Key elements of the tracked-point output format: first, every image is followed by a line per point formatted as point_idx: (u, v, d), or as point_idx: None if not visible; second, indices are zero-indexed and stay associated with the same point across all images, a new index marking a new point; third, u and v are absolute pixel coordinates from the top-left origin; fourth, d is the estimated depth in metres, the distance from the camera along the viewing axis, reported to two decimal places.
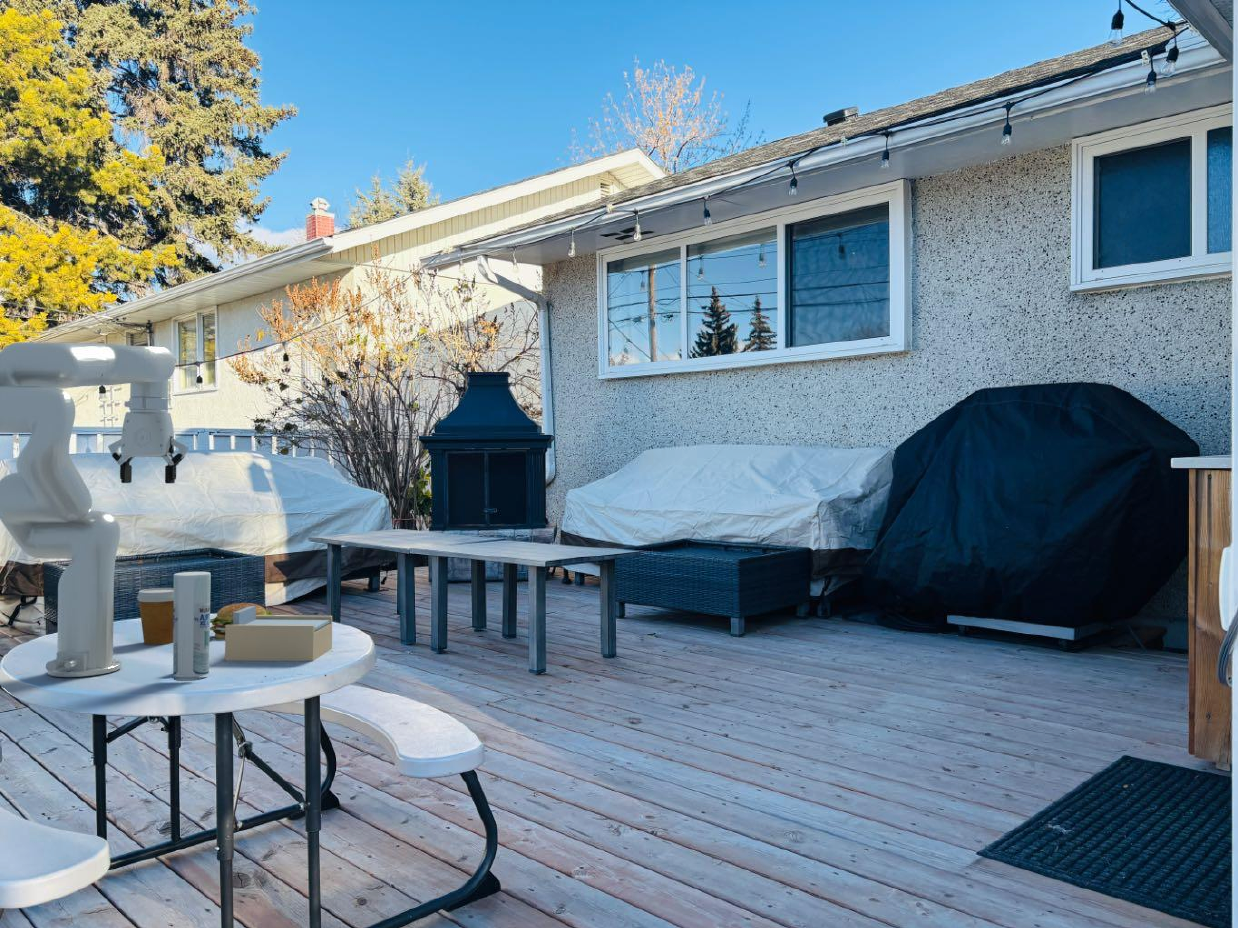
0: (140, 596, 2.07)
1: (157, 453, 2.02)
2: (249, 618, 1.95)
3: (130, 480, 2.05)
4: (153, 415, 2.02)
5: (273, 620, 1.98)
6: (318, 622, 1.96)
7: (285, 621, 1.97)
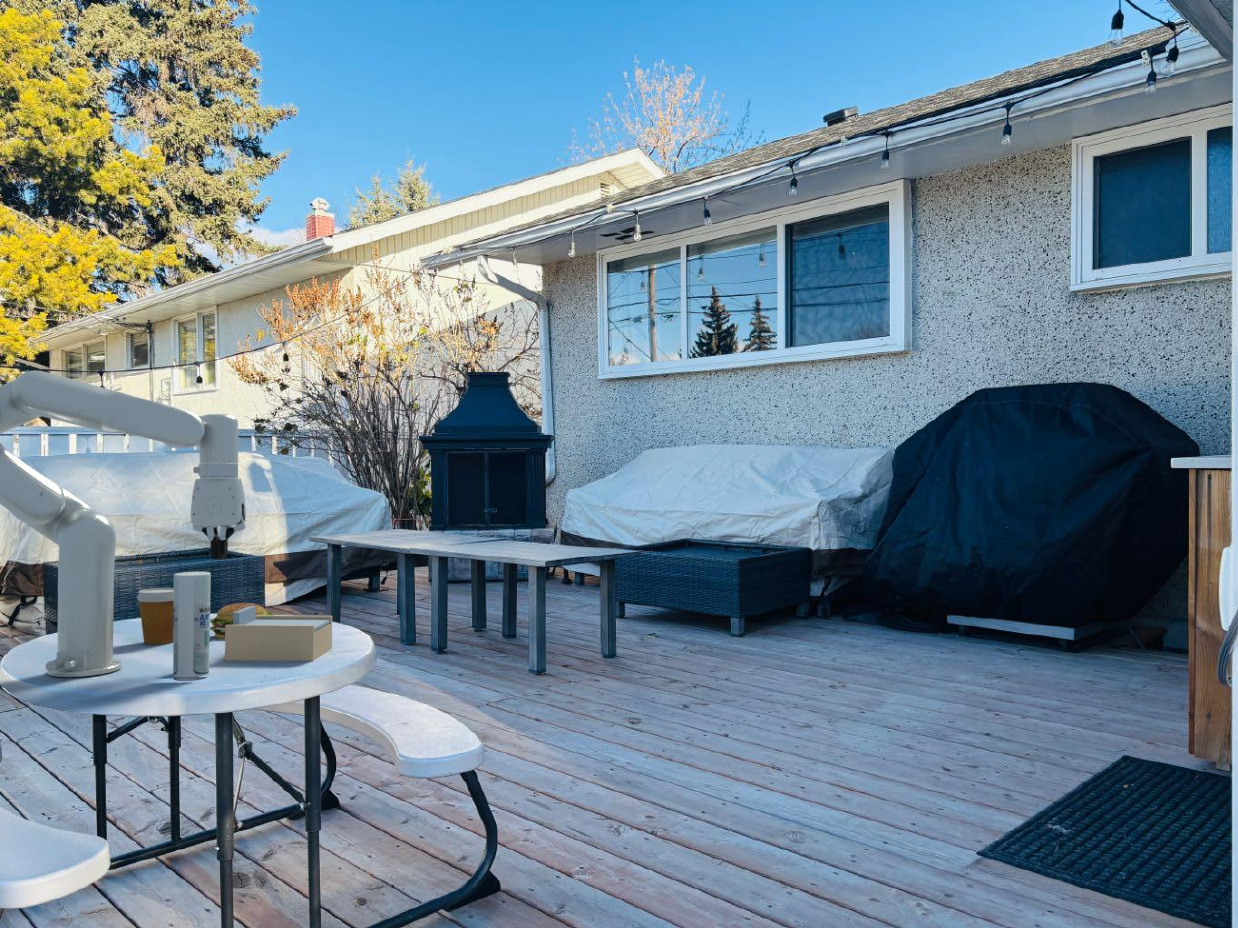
0: (140, 596, 2.07)
1: (229, 522, 1.92)
2: (249, 618, 1.95)
3: None
4: (224, 482, 1.92)
5: (273, 620, 1.98)
6: (318, 622, 1.96)
7: (285, 621, 1.97)
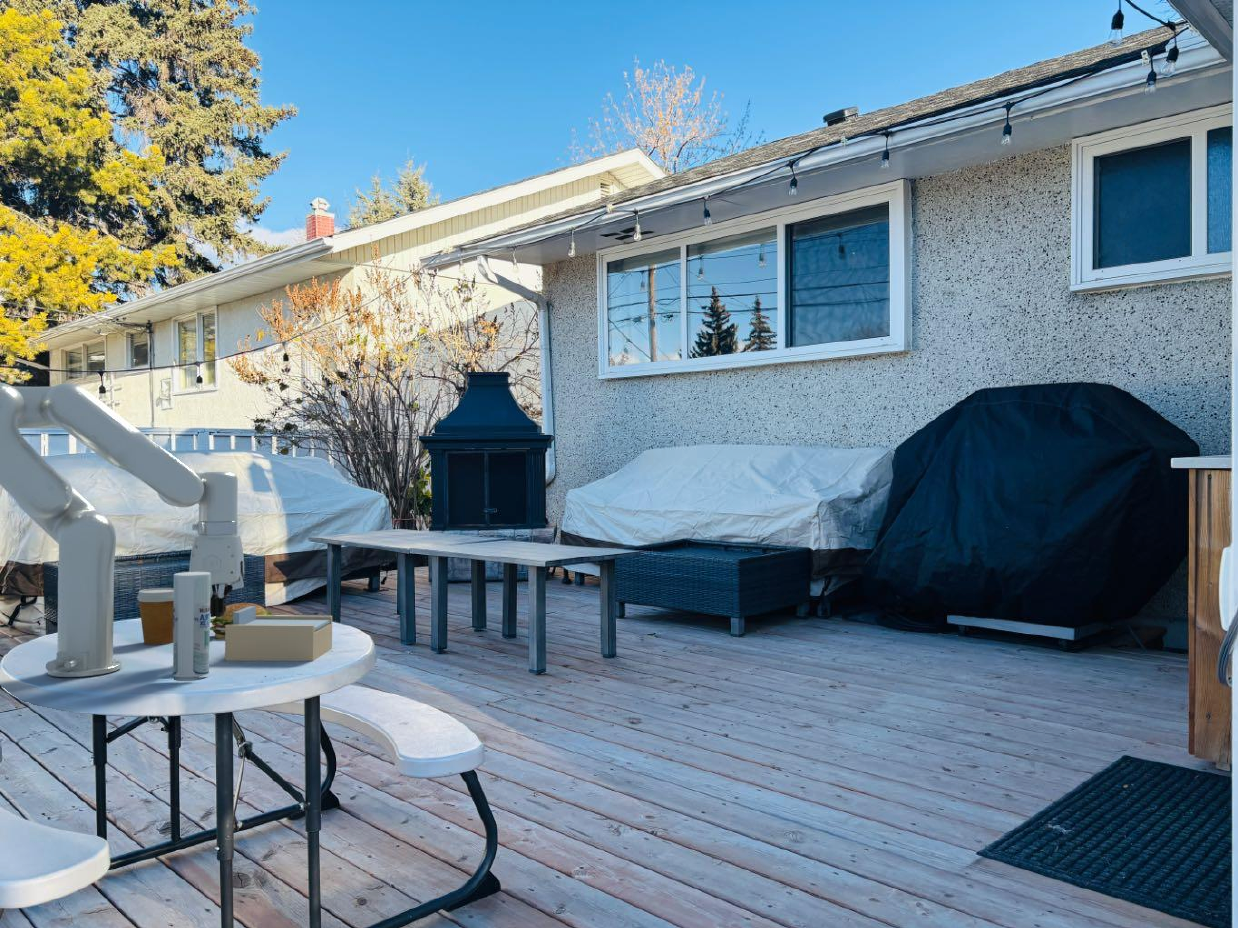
0: (140, 596, 2.07)
1: (228, 580, 1.92)
2: (249, 618, 1.95)
3: None
4: (223, 540, 1.92)
5: (273, 620, 1.98)
6: (318, 622, 1.96)
7: (285, 621, 1.97)
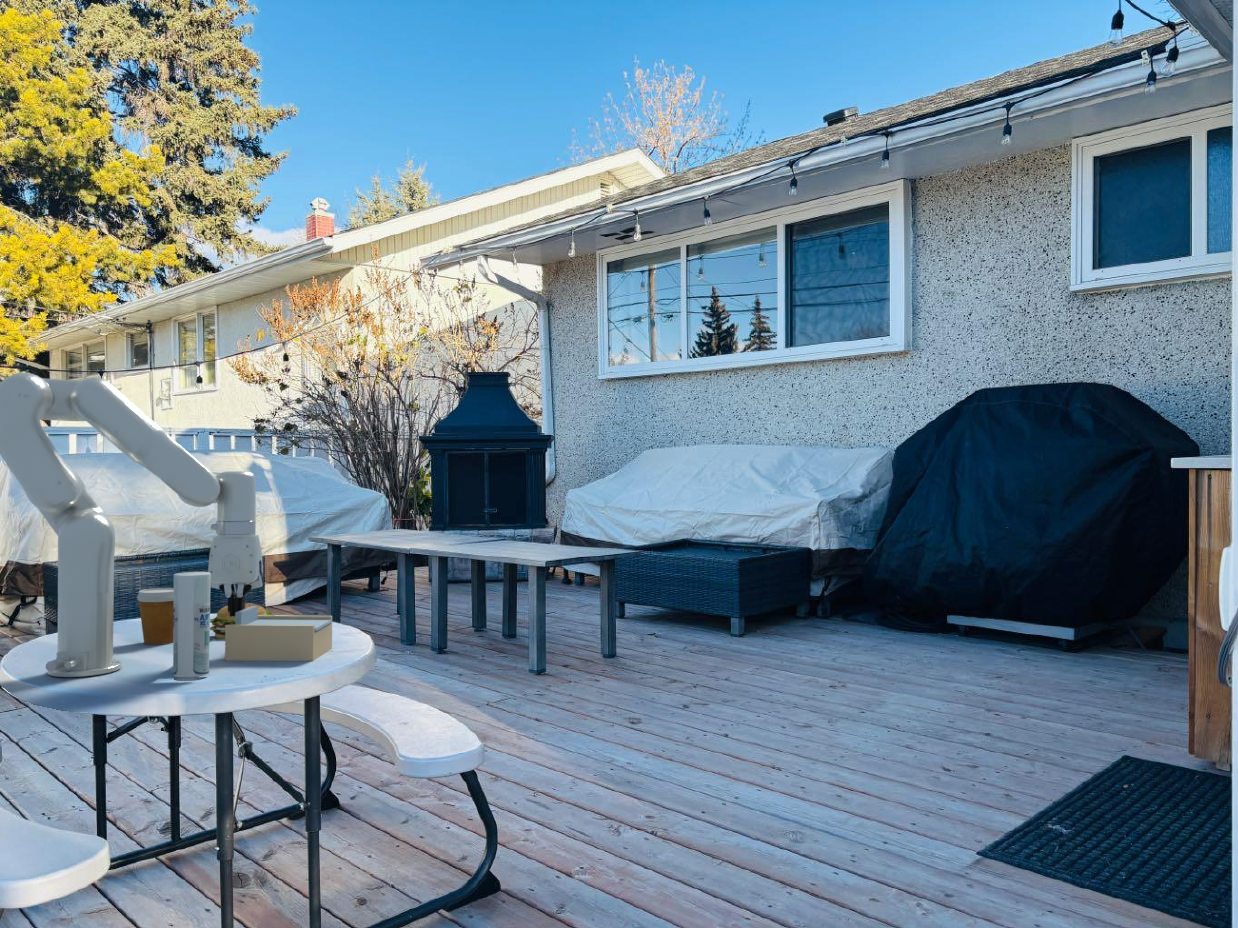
0: (140, 596, 2.07)
1: (247, 579, 1.92)
2: (251, 618, 1.95)
3: None
4: (242, 540, 1.92)
5: (275, 620, 1.98)
6: (320, 622, 1.96)
7: (287, 621, 1.97)
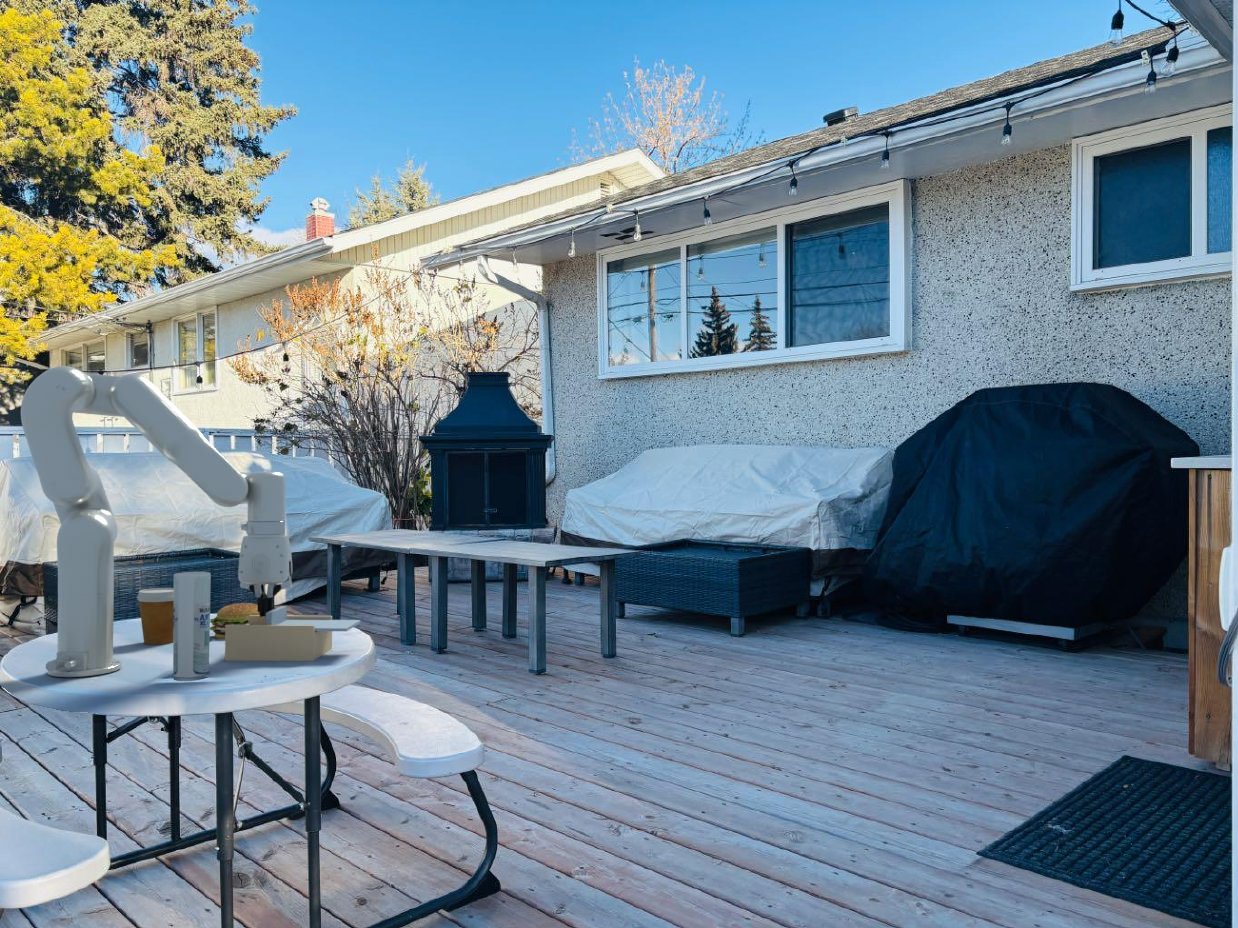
0: (140, 596, 2.07)
1: (277, 580, 1.92)
2: (281, 618, 1.95)
3: None
4: (272, 540, 1.92)
5: (304, 620, 1.99)
6: (349, 622, 1.96)
7: (316, 621, 1.97)
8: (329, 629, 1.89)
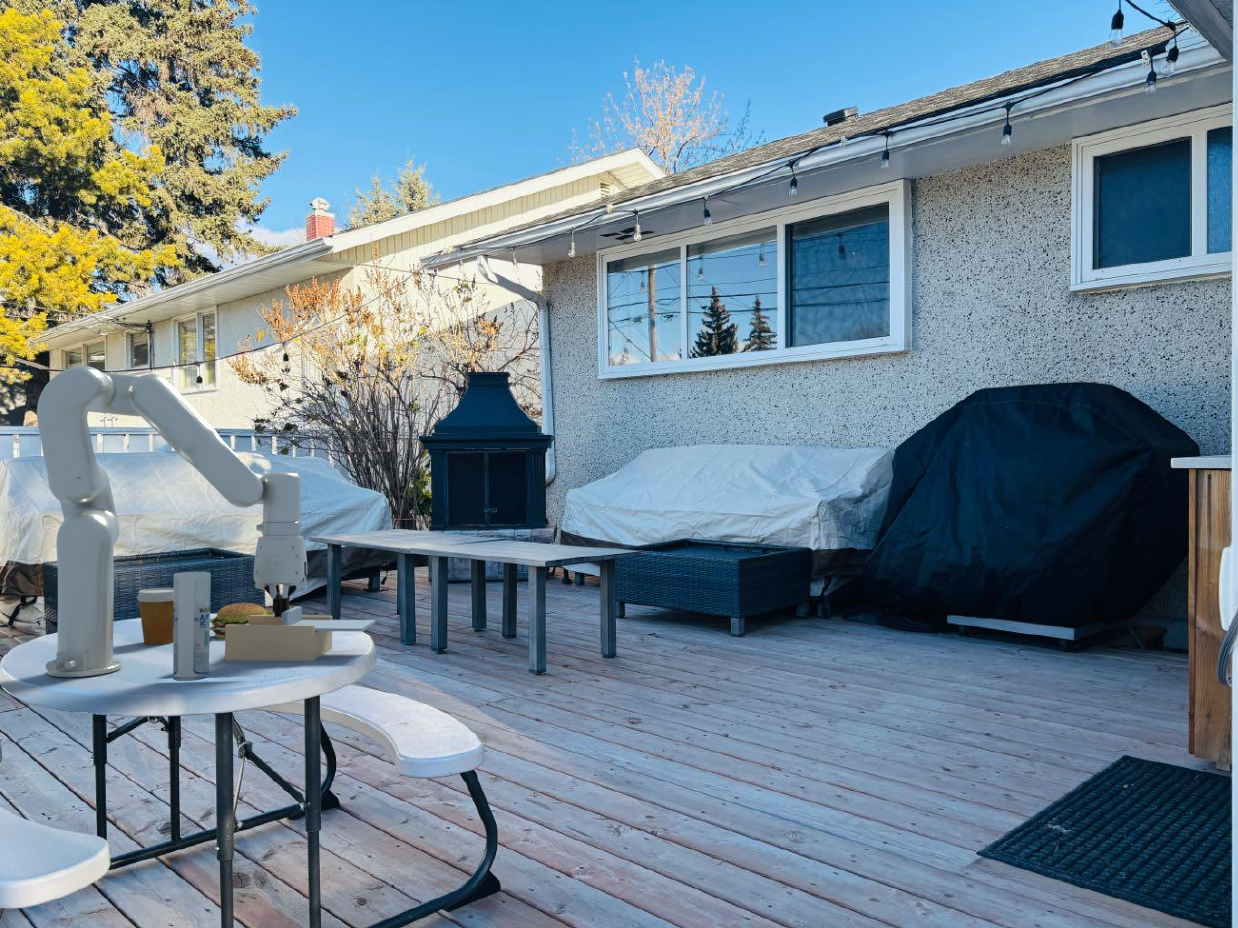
0: (140, 596, 2.07)
1: (292, 580, 1.92)
2: (296, 618, 1.96)
3: None
4: (287, 541, 1.92)
5: (319, 620, 1.99)
6: (364, 622, 1.96)
7: (331, 621, 1.97)
8: (345, 629, 1.89)
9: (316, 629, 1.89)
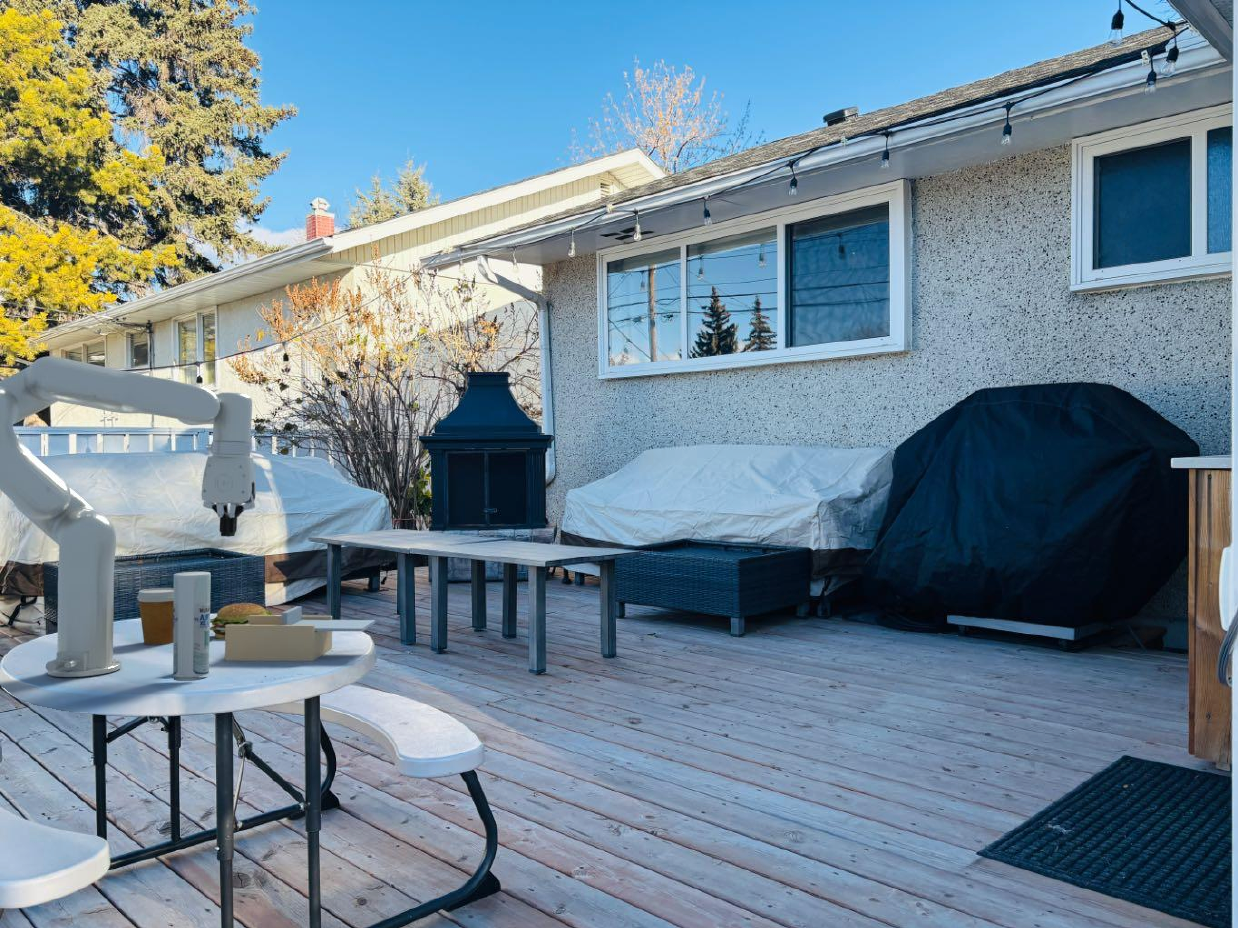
0: (140, 596, 2.07)
1: (239, 499, 1.93)
2: (296, 618, 1.96)
3: None
4: (235, 460, 1.94)
5: (319, 620, 1.99)
6: (364, 622, 1.96)
7: (331, 621, 1.97)
8: (345, 629, 1.89)
9: (316, 629, 1.89)
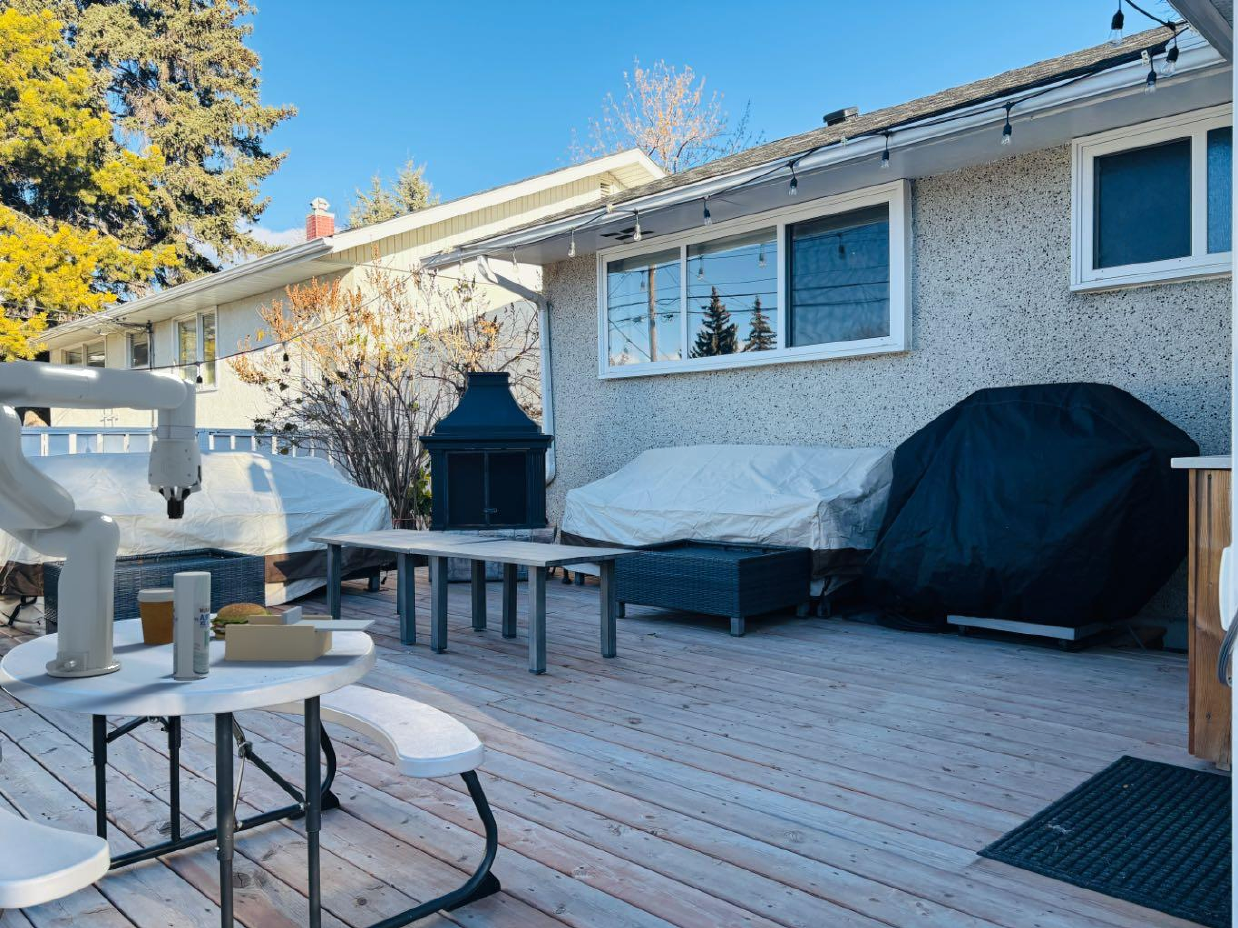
0: (140, 596, 2.07)
1: (185, 483, 1.98)
2: (296, 618, 1.96)
3: None
4: (180, 444, 1.98)
5: (319, 620, 1.99)
6: (364, 622, 1.96)
7: (331, 621, 1.97)
8: (345, 629, 1.89)
9: (316, 629, 1.89)
